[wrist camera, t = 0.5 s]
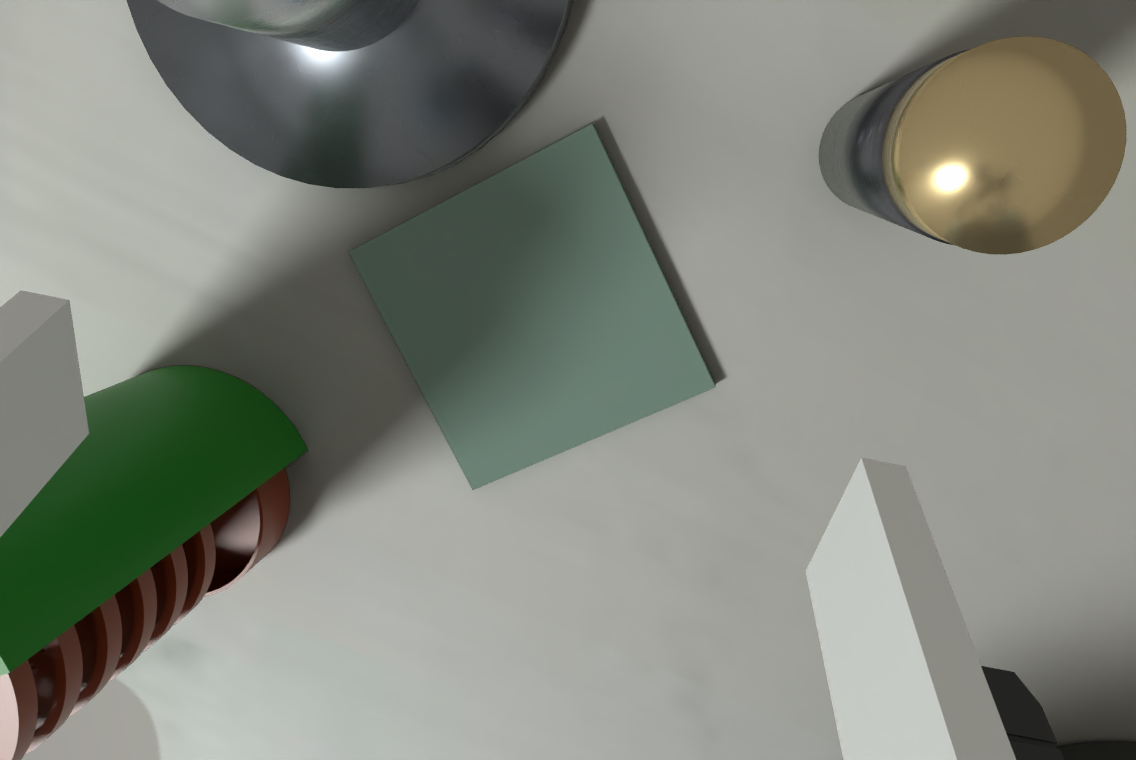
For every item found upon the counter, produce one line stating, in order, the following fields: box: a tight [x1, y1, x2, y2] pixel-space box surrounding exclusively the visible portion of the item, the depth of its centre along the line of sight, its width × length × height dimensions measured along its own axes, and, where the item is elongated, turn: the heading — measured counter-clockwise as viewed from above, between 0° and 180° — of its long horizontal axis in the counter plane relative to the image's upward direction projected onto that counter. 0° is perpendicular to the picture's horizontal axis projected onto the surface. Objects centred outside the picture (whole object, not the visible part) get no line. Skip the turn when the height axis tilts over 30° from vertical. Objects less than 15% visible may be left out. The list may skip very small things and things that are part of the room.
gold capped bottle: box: [819, 36, 1126, 254], centre depth 22 cm, size 4×4×14 cm
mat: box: [348, 124, 715, 490], centre depth 32 cm, size 10×10×1 cm
